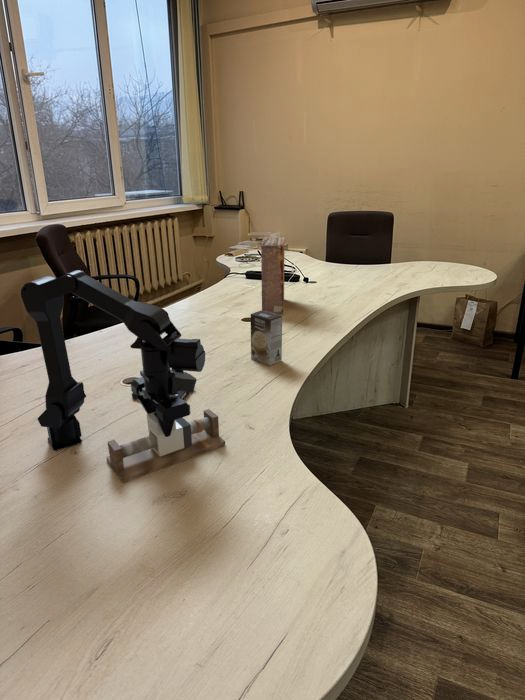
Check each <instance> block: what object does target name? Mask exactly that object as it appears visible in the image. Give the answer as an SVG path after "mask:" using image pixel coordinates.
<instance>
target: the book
mask: <svg viewBox="0 0 525 700" xmlns="http://www.w3.org/2000/svg"><path fill="white" fill-rule="evenodd" d="M285 237H286V236H283V237H266V235H265V236H264V237H263V240H262V242H261V244H260V245H261V246H260V247H261V248H260V253H261V255H260V257H261V310H265V311H269V312H272V313H276V314H279V315H283V314H284V306H285V305H284V304H285V242H286V241H285V240H286V239H285Z"/></svg>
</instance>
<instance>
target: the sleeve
mask: <svg viewBox="0 0 525 700" xmlns="http://www.w3.org/2000/svg"><path fill="white" fill-rule="evenodd" d="M153 413H156V412H153ZM153 413H150V414H147V413H146V420H147V429H148V430H147V431H148V436H150V435H153V434H154V435H155V436H156V437H157V444H158V446H157V447H154V448H152V449H153V450H154V451H155V452H156V453H157V454H158V455H159V456H163V455H166V454H169V453H172V452H174V451H177V450H180V449H183V448H184V438H183V427H182V426H181V425H180V424H178V423H177V422H176V421H174V424H173V428H172V431H171V435H170V436H169V437H165V435H164V433H163V432H162V430H161V428H160V426H159V424H158V422H157V420H156V418H155V416H154V414H153Z"/></svg>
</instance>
